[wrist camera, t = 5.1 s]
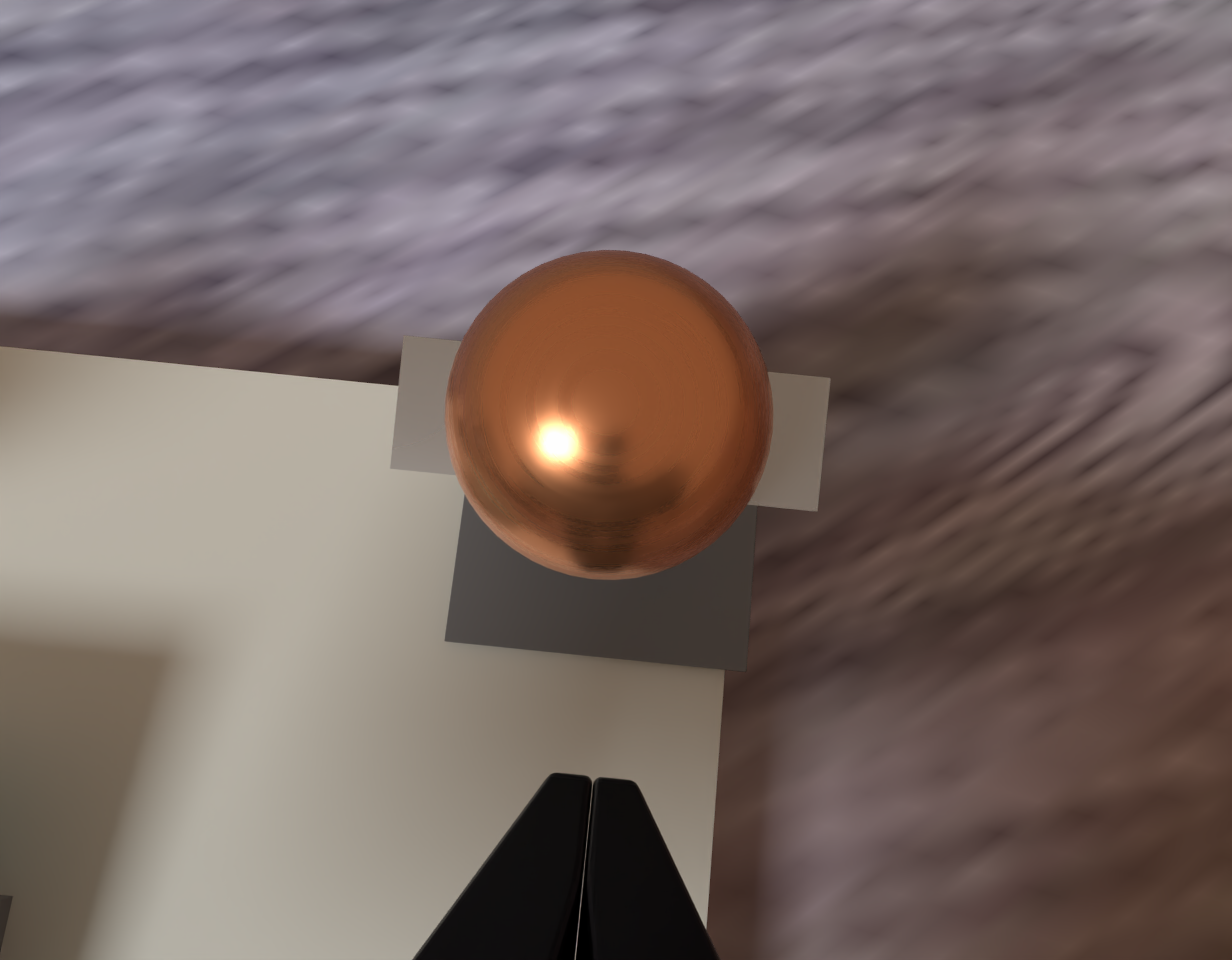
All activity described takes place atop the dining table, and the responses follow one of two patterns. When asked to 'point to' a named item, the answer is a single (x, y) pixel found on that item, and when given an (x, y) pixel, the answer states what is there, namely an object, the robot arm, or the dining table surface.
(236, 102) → the dining table surface
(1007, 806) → the dining table surface
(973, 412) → the dining table surface
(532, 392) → the grey block with ball
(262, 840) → the panel
